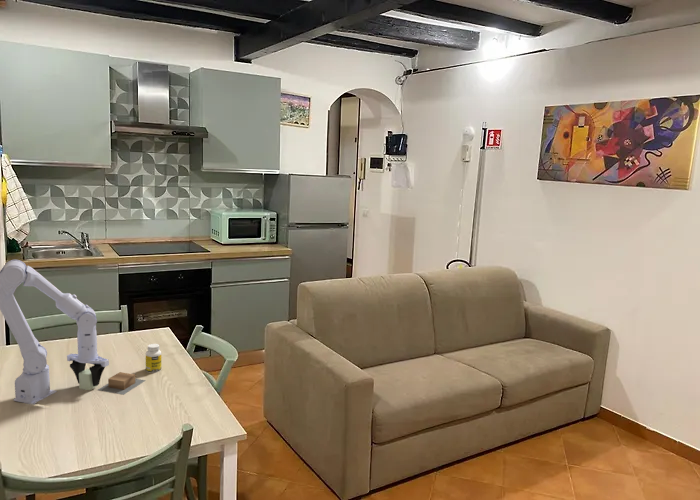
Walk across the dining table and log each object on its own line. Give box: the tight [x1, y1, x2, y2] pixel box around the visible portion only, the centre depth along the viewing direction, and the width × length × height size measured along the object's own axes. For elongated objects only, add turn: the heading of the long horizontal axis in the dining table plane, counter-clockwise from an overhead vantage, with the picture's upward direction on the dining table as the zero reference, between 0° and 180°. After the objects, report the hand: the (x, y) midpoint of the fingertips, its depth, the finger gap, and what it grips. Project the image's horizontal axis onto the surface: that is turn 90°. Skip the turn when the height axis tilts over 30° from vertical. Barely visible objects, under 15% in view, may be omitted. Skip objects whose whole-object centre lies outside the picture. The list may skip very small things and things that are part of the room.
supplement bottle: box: [145, 343, 162, 374], centre depth 198 cm, size 5×5×10 cm
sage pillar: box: [78, 368, 99, 391], centre depth 182 cm, size 4×4×6 cm
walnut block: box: [107, 371, 136, 390], centre depth 184 cm, size 6×6×3 cm
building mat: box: [97, 378, 146, 396], centre depth 185 cm, size 12×10×1 cm
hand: (88, 383), depth 182 cm, fingers open, 5 cm apart
